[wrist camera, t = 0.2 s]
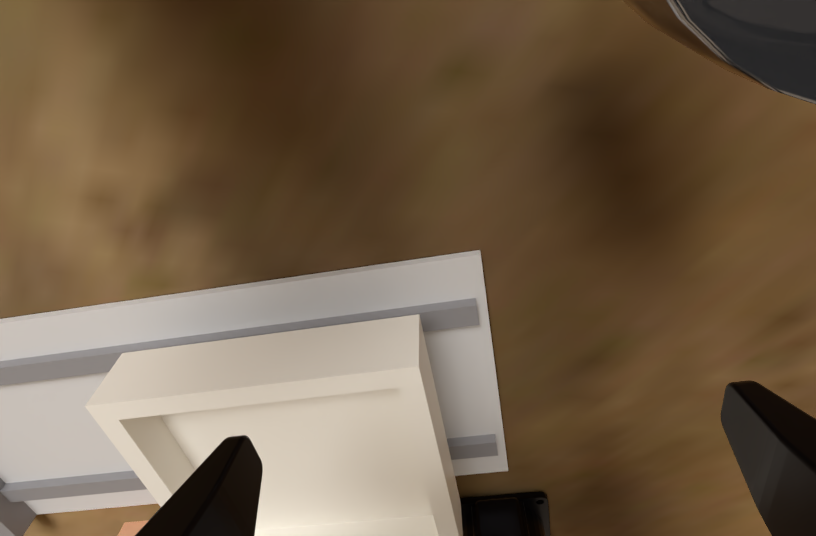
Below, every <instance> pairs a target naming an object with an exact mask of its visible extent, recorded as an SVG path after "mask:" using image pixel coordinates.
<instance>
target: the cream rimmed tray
mask: <svg viewBox="0 0 816 536" xmlns="http://www.w3.org/2000/svg"><path fill="white" fill-rule="evenodd" d="M85 407H86V409H87V410H88V411H89V413H90V414H91V415H92V417H93V418H94V419H95V421H96V422H97V423H98V425H99V426H100V427H101V429H102V430H103V431H104V432H105V434H106V435H107V436H108V438H109V439H110V440H111V442H112V443H113V444H114V446H115V447H116V448H117V450H118V451H119V452H120V454H121V455H122V456H123V458H124V459H125V460H126V462H127V463H128V464H129V466H130V467H131V468H132V470H133V471H134V472H135V474H136V475H137V476H138V477H139V479H140V480H141V481H142V483H143V484H144V485H145V487H146V488H147V489H148V491H149V492H150V493H151V495H152V496H153V497H154V499H155V500H156V501H157V503H158V504H159V505H160V507H162V506H163V505H164V504H165V503H166V501H167V500H168V499H169V498H170V497H171V496H172V495H173V494H174V493H175V492H176V491H177V490H178V489H179V487H180V486H181V485H182V484H183V483H184V482H185V481H186V480H187V479H188V478H189V477H190V476H191V475H192V473H193V472H194V471H195V470H196V469H197V468H198V467H199V466H200V465H201V464H202V463H203V462H204V461H205V459H206V458H207V457H208V456H209V455H210V454H211V453H212V452H213V451H214V450H215V449H216V448H217V447H218V445H219V444H220V443H221V442H222V441H223V440H224V439H226V438H227V437H231V436H240V435H246V436H248V437H249V438H250V440H251V442H252V443H253V445H254V447H255V449H256V451H257V453H258V455H259V457H260V459H261V461H262V466H263V473H262V481H261V489H260V497H259V504H258V512H257V520H256V527H255V535H254V536H463V529H462V514H461V502H460V497H459V493H458V488H457V484H456V479H455V475H454V470H453V465H452V461H451V456H450V452H449V447H448V443H447V438H446V434H445V429H444V425H443V420H442V415H441V411H440V406H439V402H438V397H437V393H436V388H435V384H434V379H433V375H432V370H431V365H430V361H429V356H428V352H427V347H426V343H425V338H424V334H423V329H422V324H421V320H420V315H419V314H417V315H410V316H402V317H394V318H387V319H379V320H372V321H364V322H356V323H349V324H341V325H333V326H326V327H318V328H310V329H303V330H295V331H288V332H280V333H272V334H265V335H257V336H249V337H242V338H234V339H227V340H219V341H211V342H204V343H196V344H188V345H181V346H173V347H166V348H158V349H150V350H143V351H135V352H127V353H122V354H121V356H120V357H119V358H118V360H117V361H116V363H115V364H114V366H113V367H112V368H111V370H110V371H109V373H108V374H107V375H106V377H105V378H104V380H103V381H102V382H101V384H100V385H99V387H98V388H97V390H96V391H95V392H94V394H93V395H92V397H91V398H90V399H89V401H88V402H87V404H86V405H85Z"/></svg>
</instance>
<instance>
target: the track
mask: <svg viewBox="0 0 816 536" xmlns="http://www.w3.org/2000/svg"><path fill="white" fill-rule="evenodd" d="M417 314H419V315H420V320H421V324H422V329H423V334H424V338H425V343H426V347H427V352H428V356H429V361H430V365H431V370H432V375H433V379H434V384H435V388H436V393H437V397H438V402H439V406H440V411H441V415H442V420H443V425H444V429H445V434H446V438H447V443H448V447H449V452H450V456H451V461H452V465H453V470H454V475H455V476H459V475H470V474H481V473H492V472H502V471H508V463H507V455H506V448H505V440H504V432H503V424H502V416H501V409H500V401H499V393H498V385H497V377H496V370H495V362H494V354H493V346H492V338H491V331H490V323H489V315H488V307H487V299H486V292H485V284H484V276H483V268H482V260H481V253H480V250H476V251H469V252H462V253H455V254H448V255H441V256H434V257H427V258H421V259H414V260H407V261H400V262H393V263H386V264H379V265H372V266H365V267H358V268H351V269H344V270H337V271H330V272H323V273H316V274H310V275H303V276H296V277H289V278H282V279H275V280H268V281H261V282H254V283H247V284H240V285H233V286H226V287H219V288H212V289H205V290H199V291H192V292H185V293H178V294H171V295H164V296H157V297H150V298H143V299H136V300H129V301H122V302H115V303H108V304H101V305H94V306H88V307H81V308H74V309H67V310H60V311H53V312H46V313H39V314H32V315H25V316H18V317H11V318H4V319H0V536H23V535H24V533H25V532H26V530H27V529H28V527H29V526H30V524H31V523H32V521H33V520H34V518H35V517H36V515H38V514H49V513H59V512H70V511H81V510H92V509H103V508H113V507H124V506H135V505H146V504H157V501H156V500H155V499H154V497H153V496H152V495H151V493H150V492H149V491H148V489H147V488H146V487H145V485H144V484H143V483H142V481H141V480H140V479H139V477H138V476H137V475H136V474H135V472H134V471H133V470H132V468H131V467H130V466H129V464H128V463H127V462H126V460H125V459H124V458H123V456H122V455H121V454H120V452H119V451H118V450H117V448H116V447H115V446H114V444H113V443H112V442H111V440H110V439H109V438H108V436H107V435H106V434H105V432H104V431H103V430H102V429H101V427H100V426H99V425H98V423H97V422H96V421H95V419H94V418H93V417H92V415H91V414H90V413H89V411H88V410H87V409H86V407H85V405H86V404H87V402H88V401H89V399H90V398H91V397H92V395H93V394H94V392H95V391H96V390H97V388H98V387H99V385H100V384H101V382H102V381H103V380H104V378H105V377H106V375H107V374H108V373H109V371H110V370H111V368H112V367H113V366H114V364H115V363H116V361H117V360H118V358H119V357H120V356H121V354H122V353H127V352H135V351H143V350H150V349H158V348H166V347H173V346H181V345H188V344H196V343H204V342H211V341H219V340H227V339H234V338H242V337H249V336H257V335H265V334H272V333H280V332H288V331H295V330H303V329H310V328H318V327H326V326H333V325H341V324H349V323H356V322H364V321H372V320H379V319H387V318H394V317H402V316H410V315H417Z"/></svg>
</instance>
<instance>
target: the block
mask: <svg viewBox="0 0 816 536" xmlns="http://www.w3.org/2000/svg"><path fill="white" fill-rule="evenodd" d="M147 522H148V521H137V522H126V523H124V524H123V526H122V528H121V530H120V532H119V534H118V536H135V535H136V534H137V533H138V532H139V531H140V529H141V528H142V527H143V526H144V525H145V524H146V523H147Z"/></svg>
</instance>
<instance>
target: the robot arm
mask: <svg viewBox="0 0 816 536" xmlns="http://www.w3.org/2000/svg"><path fill="white" fill-rule="evenodd" d="M721 422H722V426H723V428H724V431H725V433H726V435H727V438H728V440H729V443H730V445H731V447H732V450H733V452H734V454H735V457H736V459H737V462H738V464H739V466H740V469H741V471H742V473H743V476H744V478H745V481H746V483H747V485H748V488H749V490H750V492H751V495H752V497H753V499H754V502H755V504H756V506H757V508H758V510H759V512H760V514H761V516H762V518H763V520H764V522H765V524H766V525H767V527H768V529H769V531H770V533H771V535H772V536H816V419H815V418H813V417H812V416H810V415H808V414H807V413H805V412H804V411H802V410H800V409H799V408H797V407H796V406H794V405H792V404H791V403H789V402H788V401H786V400H784V399H783V398H781V397H780V396H778V395H776V394H775V393H773V392H772V391H770V390H768V389H767V388H765V387H764V386H762V385H760V384H759V383H757V382H754V381H740V382H732V383H729V384H728V385H727V386H726V389H725V394H724V400H723V405H722V410H721ZM262 473H263V466H262V461H261V459H260V457H259V455H258V453H257V451H256V449H255V447H254V445H253V443H252V442H251V440H250V438H249V437H248V436H246V435H240V436H231V437H227V438H226V439H224V440H223V441H222V442H221V443H220V444H219V445H218V447H217V448H216V449H215V450H214V451H213V452H212V453H211V454H210V455H209V456H208V457H207V458H206V459H205V461H204V462H203V463H202V464H201V465H200V466H199V467H198V468H197V469H196V470H195V471H194V472H193V473H192V475H191V476H190V477H189V478H188V479H187V480H186V481H185V482H184V483H183V484H182V485H181V486H180V487H179V489H178V490H177V491H176V492H175V493H174V494H173V495H172V496H171V497H170V498H169V499H168V500H167V501H166V503H165V504H164V505H163V506H162V507H161V508H160V509H159V510H158V511H157V512H156V513H155V514H154V515H153V517H152V518H151V519H150V520H149V521H148V522H147V523H146V524H145V525H144V526H143V527H142V528H141V529H140V531H139V532H138V533H137V534H136V535H135V536H254V535H255V527H256V520H257V512H258V504H259V497H260V489H261V481H262ZM460 502H461V514H462V529H463V536H550V525H549V509H548V499H547V495H546V494H545V493H543V492H531V493H520V494H508V495H497V496H485V497H474V498H462V499H460Z"/></svg>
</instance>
